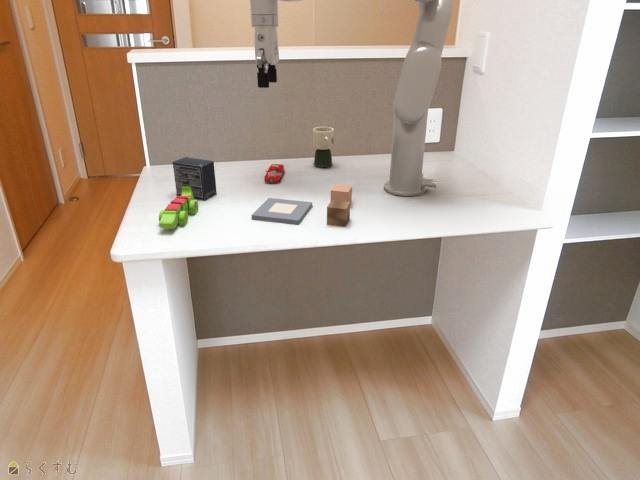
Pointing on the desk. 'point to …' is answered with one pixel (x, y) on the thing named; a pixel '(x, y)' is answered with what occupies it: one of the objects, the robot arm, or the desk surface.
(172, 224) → the toy crocodile
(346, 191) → the terracotta cube
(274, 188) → the desk surface
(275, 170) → the race car
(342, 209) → the walnut cube
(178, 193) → the small box
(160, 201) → the desk surface
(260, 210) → the board
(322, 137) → the character mug
